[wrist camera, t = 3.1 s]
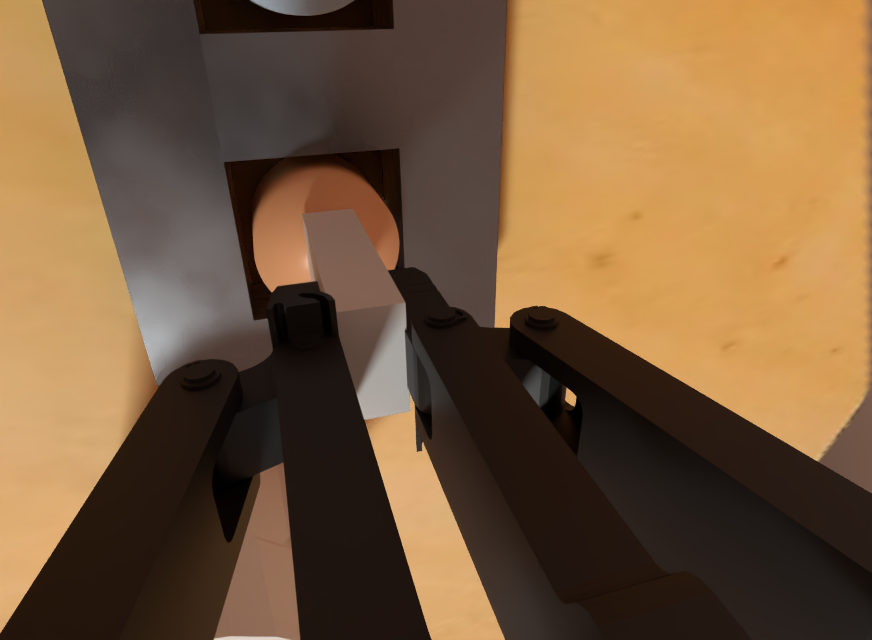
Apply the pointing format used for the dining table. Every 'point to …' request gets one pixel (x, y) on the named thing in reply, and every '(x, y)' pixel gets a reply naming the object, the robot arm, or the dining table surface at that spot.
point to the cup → (263, 571)
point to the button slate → (302, 6)
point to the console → (281, 148)
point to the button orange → (306, 193)
